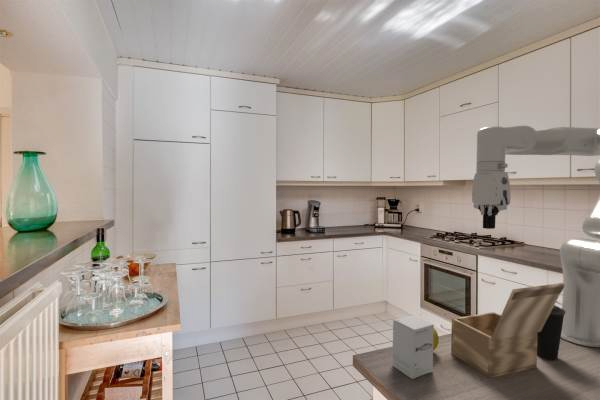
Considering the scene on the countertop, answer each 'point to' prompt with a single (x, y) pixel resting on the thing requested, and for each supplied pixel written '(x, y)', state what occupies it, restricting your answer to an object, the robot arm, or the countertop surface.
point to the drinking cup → (551, 335)
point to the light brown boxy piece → (491, 346)
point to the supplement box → (413, 346)
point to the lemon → (435, 340)
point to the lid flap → (527, 310)
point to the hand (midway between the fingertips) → (488, 228)
